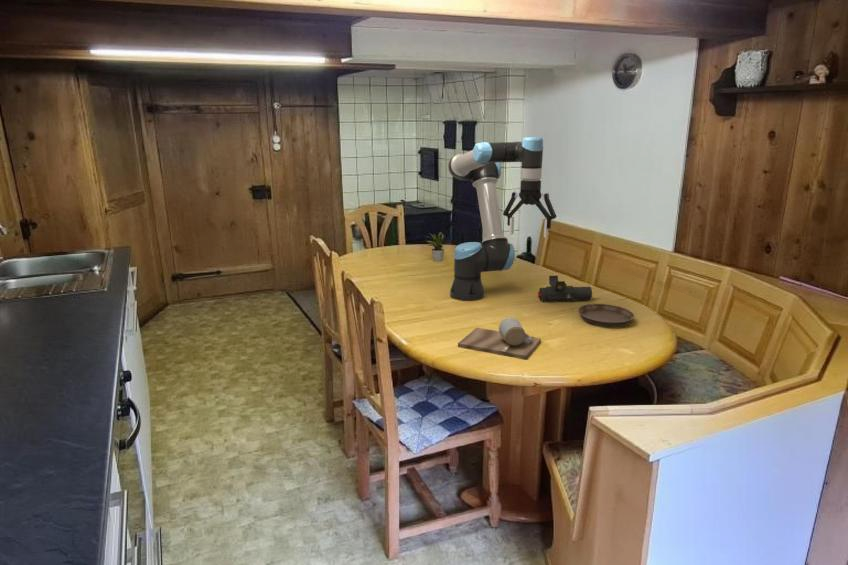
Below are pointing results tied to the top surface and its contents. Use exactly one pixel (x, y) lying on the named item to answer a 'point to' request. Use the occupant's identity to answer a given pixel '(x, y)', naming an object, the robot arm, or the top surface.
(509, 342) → the ceramic mug
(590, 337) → the top surface
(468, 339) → the board
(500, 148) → the robot arm
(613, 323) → the plant saucer
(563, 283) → the laser sight
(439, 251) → the house plant
